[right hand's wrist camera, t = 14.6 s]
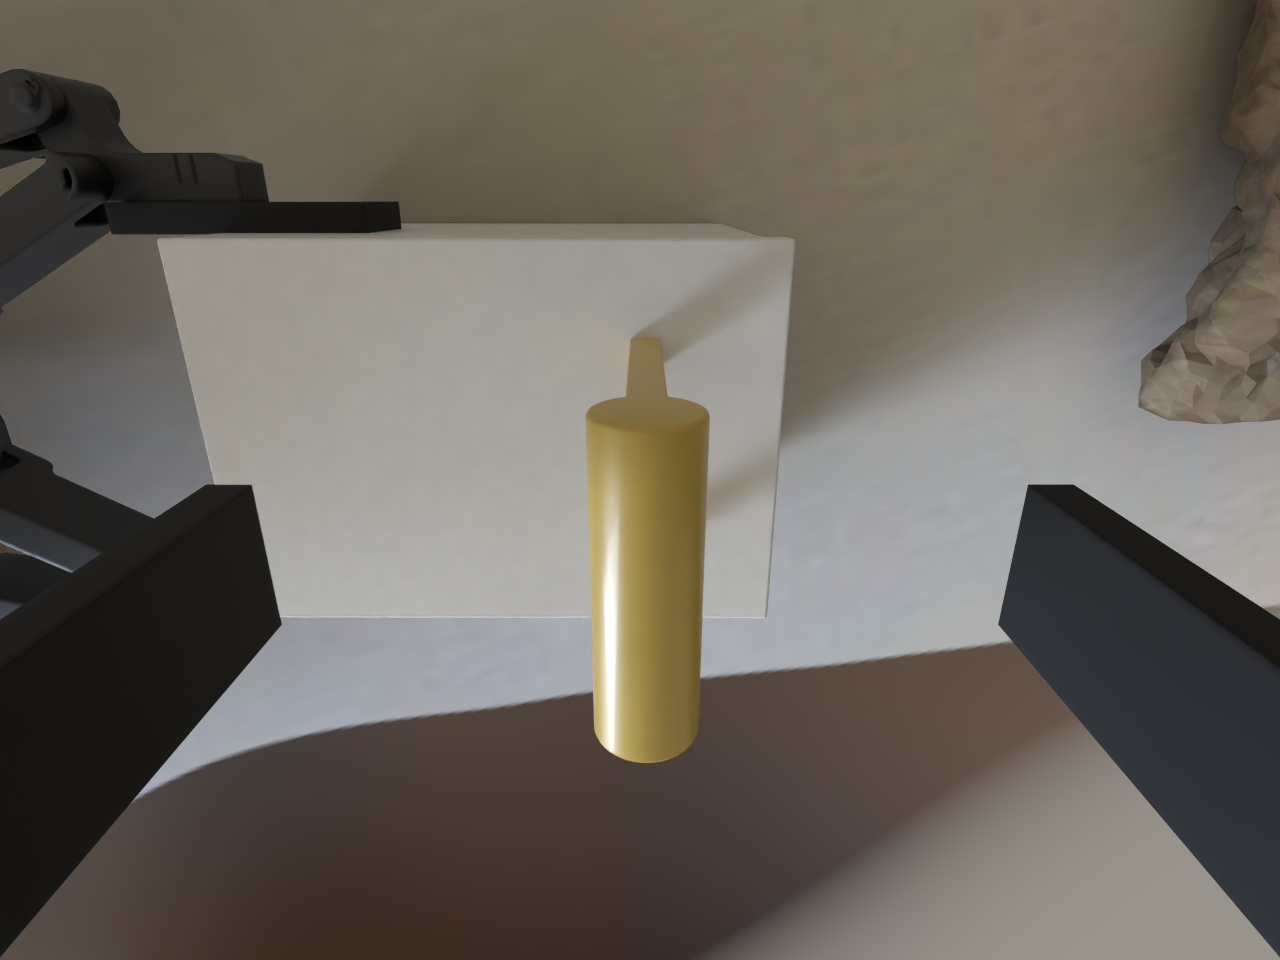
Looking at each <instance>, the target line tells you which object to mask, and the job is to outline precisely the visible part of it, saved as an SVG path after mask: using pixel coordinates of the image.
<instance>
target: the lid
mask: <svg viewBox="0 0 1280 960" xmlns="http://www.w3.org/2000/svg"><path fill="white" fill-rule="evenodd" d="M157 244H158V248H159V252H160V256H161V260H162V265H163V269H164V273H165V277H166V282H167V286H168V290H169V294H170V299H171V303H172V307H173V311H174V315H175V320H176V324H177V328H178V332H179V337H180V341H181V345H182V349H183V353H184V358H185V362H186V366H187V370H188V375H189V379H190V383H191V387H192V392H193V396H194V400H195V404H196V408H197V413H198V417H199V421H200V425H201V430H202V434H203V438H204V442H205V447H206V451H207V455H208V459H209V463H210V468H211V472H212V476H213V480H214V485H252V488H253V493H254V497H255V502H256V507H257V511H258V516H259V521H260V525H261V530H262V535H263V540H264V544H265V549H266V554H267V558H268V563H269V568H270V572H271V577H272V582H273V586H274V591H275V596H276V600H277V605H278V610H279V614H280V617H304V618H591V631H592V666H593V699H594V729H595V733H596V735H597V737H598V739H599V741H600V742H601V744H602V745H603V746H604V747H605V748H606V749H607V750H608V751H609V752H611V753H612V754H614V755H616V756H618V757H620V758H622V759H625V760H629V761H633V762H640V763H653V762H660V761H664V760H668V759H671V758H673V757H675V756H677V755H679V754H681V753H682V752H684V751H685V750H686V749H687V748H688V747H689V746H690V745H691V744H692V742H693V740H694V739H695V737H696V735H697V731H698V719H699V692H700V666H701V640H702V618H765V617H766V616H767V608H768V595H769V582H770V569H771V556H772V543H773V530H774V516H775V503H776V490H777V477H778V464H779V451H780V438H781V425H782V412H783V399H784V386H785V373H786V359H787V346H788V333H789V320H790V307H791V294H792V281H793V268H794V255H795V239H792V238H789V237H169V238H160V239H158V240H157Z"/></svg>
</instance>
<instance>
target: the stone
mask: <svg viewBox="0 0 1280 960" xmlns="http://www.w3.org/2000/svg"><path fill="white" fill-rule="evenodd" d="M1220 137H1221V140H1222V143H1223V144H1225V145H1227V146H1229V147H1231V148H1233V149H1234V150H1236V151H1238V152H1240V153H1242V154H1244V156H1245V158H1246V160H1245V162H1244V164H1243V166H1242V168H1241V170H1240V172H1239V174H1238V176H1237V178H1236V180H1235V191H1234V195H1235V199H1236V202H1237V206H1236V207H1234V208H1233V209H1232V210H1231V211H1230V213H1229V214H1228V216H1227V217H1226V219H1225V220H1224V222H1223V223H1222V225H1221V226H1220V228H1219V229H1218V231H1217V232H1216V234H1215V235H1214V237H1213V239H1212V240H1211V243H1210V248H1209V253H1208V255H1209V260H1210V264H1209V265H1208V266H1207V267H1206V268H1205V269H1204V270H1203V271H1202V272H1201V273H1200V274H1199V275H1198V277H1197V279H1196V281H1195V283H1194V284H1193V286H1192V288H1191V289H1190V291H1189V293H1188V294H1187V296H1186V297H1185V299H1186V301H1187V316H1188V317H1187V321H1186V323H1185V324H1184V325H1182V326H1181V327H1180V328H1179V329H1177V330H1176V331H1175V332H1174V333H1173V334H1172V335H1171V336H1170V337H1168V338H1167V339H1166V340H1165V341H1164V342H1163V343H1162V344H1161V345H1159V346H1158V347H1156V348H1155V349H1153V350H1152V351H1151V352H1150V353H1149V354H1148V355H1147V356H1146V357H1145V358H1144V359H1142V362H1141V388H1140V392H1139V402H1138V407H1140V408H1142V409H1144V410H1147V411H1149V412H1151V413H1153V414H1156V415H1158V416H1160V417H1162V418H1164V419H1167V420H1176V421H1190V422H1197V423H1203V424H1226V423H1234V422H1261V421H1269V420H1277V419H1280V0H1257V2H1256V8H1255V14H1254V20H1253V22H1252V25H1251V27H1250V30H1249V32H1248V35H1247V37H1246V40H1245V42H1244V43H1243V45H1242V46H1241V48H1240V50H1239V51H1238V73H1237V77H1236V81H1235V86H1234V90H1233V94H1232V98H1231V102H1230V104H1229V106H1228V107H1227V109H1226V111H1225V113H1224V116H1223V120H1222V126H1221V133H1220Z"/></svg>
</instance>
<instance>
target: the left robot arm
mask: <svg viewBox="0 0 1280 960" xmlns="http://www.w3.org/2000/svg"><path fill="white" fill-rule="evenodd" d="M119 121H120V110H119V107H118V104H117V102H116V100H115V99H114V97H113V96H112V94H111V93H110V92H108V91H107V90H106V89H105V88H103V87H101V86H98V85H95V84H91V83H86V82H81V81H77V80H72V79H67V78H62V77H57V76H53V75H48V74H43V73H38V72H33V71H29V70H24V69H15V70H10V71H7V72H4V73H1V74H0V169H2V168H5V167H8V166H11V165H14V164H17V163H20V162H23V161H26V160H29V159H32V158H43V159H47V160H46V163H45V164H44V165H42V166H41V167H40V168H39V169H37V170H36V171H35V172H33V173H32V174H31V175H29V176H28V177H27V178H25V179H24V180H22V181H21V182H20V183H18V184H17V185H16V186H14V187H13V188H12V189H10V190H9V191H8V192H6V193H5V194H4V195H2V196H1V197H0V315H1V314H2V313H3V310H2V309H1V307H2V306H4V305H5V304H7V303H8V302H9V301H11V300H12V299H14V298H15V297H17V296H18V295H19V294H21V293H22V292H24V291H25V290H27V289H28V288H29V287H31V286H32V285H34V284H35V283H37V282H38V281H39V280H41V279H42V278H44V277H45V276H47V275H48V274H49V273H51V272H52V271H54V270H55V269H57V268H58V267H59V266H61V265H62V264H64V263H65V262H67V261H68V260H69V259H71V258H72V257H74V256H75V255H77V254H78V253H79V252H81V251H82V250H84V249H85V248H87V247H88V246H89V245H91V244H92V243H94V242H95V241H97V240H98V239H99V238H101V237H102V236H104V235H105V234H107V233H108V232H109V231H111V233H112V234H216V233H373V232H381V231H389V230H397V229H402V228H401V219H400V211H399V202H269V198H268V193H267V187H266V182H265V176H264V171H263V165H262V164H261V163H258V162H256V161H253V160H251V159H248V158H246V157H244V156H237V155H228V154H218V153H142V152H141V151H139V150H138V149H136V148H135V147H134V146H133V145H132V144H131V143H130V142H129V141H128V140H127V138H126V137H125V136H124V134H123V132H122V131H121V129H120V127H119V125H118V123H119ZM152 520H153V518H151V517H149V516H147V515H144V514H142V513H140V512H138V511H135V510H133V509H131V508H129V507H126V506H124V505H122V504H120V503H118V502H115V501H113V500H111V499H109V498H106V497H104V496H102V495H100V494H97V493H95V492H93V491H91V490H88V489H86V488H84V487H82V486H79V485H77V484H75V483H73V482H71V481H68V480H66V479H64V478H62V477H59V476H57V475H56V474H54V473H53V465H52V464H51V463H50V462H49V461H47V460H45V459H43V458H41V457H38V456H36V455H34V454H32V453H30V452H27V451H25V450H23V449H21V448H18V447H16V446H14V445H12V443H11V440H10V437H9V434H8V431H7V428H6V425H5V422H4V420H3V418H2V417H1V415H0V543H2V544H5V545H7V546H9V547H12V548H14V549H16V550H19V551H21V552H23V553H26V554H28V555H30V556H26V555H21V554H11V553H0V619H2V618H3V617H5V616H6V615H8V614H9V613H11V612H13V611H14V610H16V609H17V608H19V607H20V606H22V605H23V604H25V603H26V602H28V601H29V600H31V599H32V598H34V597H35V596H37V595H39V594H40V593H42V592H43V591H45V590H46V589H48V588H49V587H51V586H52V585H54V584H55V583H57V582H58V581H60V580H61V579H63V578H65V577H66V576H68V575H69V574H71V573H72V572H74V571H75V570H77V569H78V568H80V567H81V566H83V565H84V564H86V563H87V562H89V561H91V560H92V559H94V558H95V557H97V556H98V555H100V554H101V553H103V552H104V551H106V550H107V549H109V548H110V547H112V546H113V545H115V544H117V543H118V542H120V541H121V540H123V539H124V538H126V537H127V536H129V535H130V534H132V533H133V532H135V531H136V530H138V529H139V528H141V527H143V526H144V525H146V524H147V523H149V522H150V521H152ZM32 556H33V557H32Z"/></svg>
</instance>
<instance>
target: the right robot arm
mask: <svg viewBox="0 0 1280 960" xmlns="http://www.w3.org/2000/svg"><path fill="white" fill-rule="evenodd" d="M281 625H282V624H281V619H280V614H279V610H278V605H277V600H276V596H275V591H274V586H273V582H272V577H271V572H270V568H269V563H268V558H267V554H266V549H265V544H264V540H263V535H262V530H261V525H260V521H259V516H258V511H257V507H256V502H255V497H254V493H253V488H252V485H205V486H204V487H202V488H201V489H199V490H198V491H196V492H195V493H193V494H191V495H190V496H188V497H187V498H185V499H184V500H182V501H181V502H179V503H178V504H176V505H175V506H173V507H172V508H170V509H169V510H167V511H165V512H164V513H162V514H161V515H159V516H158V517H156V518H155V519H153V520H152V521H150V522H149V523H147V524H146V525H144V526H143V527H141V528H139V529H138V530H136V531H135V532H133V533H132V534H130V535H129V536H127V537H126V538H124V539H123V540H121V541H120V542H118V543H117V544H115V545H113V546H112V547H110V548H109V549H107V550H106V551H104V552H103V553H101V554H100V555H98V556H97V557H95V558H94V559H92V560H91V561H89V562H87V563H86V564H84V565H83V566H81V567H80V568H78V569H77V570H75V571H74V572H72V573H71V574H69V575H68V576H66V577H65V578H63V579H61V580H60V581H58V582H57V583H55V584H54V585H52V586H51V587H49V588H48V589H46V590H45V591H43V592H42V593H40V594H39V595H37V596H35V597H34V598H32V599H31V600H29V601H28V602H26V603H25V604H23V605H22V606H20V607H19V608H17V609H16V610H14V611H13V612H11V613H9V614H8V615H6V616H5V617H3V618H2V619H0V957H1V955H2V954H3V953H4V952H5V951H6V950H7V948H8V947H9V946H10V945H11V944H12V942H13V941H14V940H15V939H16V938H17V937H18V935H19V934H20V933H21V932H22V931H23V929H24V928H25V927H26V926H27V925H28V924H29V922H30V921H31V920H32V919H33V918H34V917H35V915H36V914H37V913H38V912H39V911H40V909H41V908H42V907H43V906H44V905H45V903H46V902H47V901H48V900H49V899H50V898H51V896H52V895H53V894H54V893H55V892H56V890H57V889H58V888H59V887H60V886H61V885H62V883H63V882H64V881H65V880H66V879H67V878H68V876H69V875H70V874H71V873H72V871H73V870H74V869H75V868H76V867H77V866H78V865H79V863H80V862H81V861H82V860H83V859H84V857H85V856H86V855H87V854H88V853H89V852H90V850H91V849H92V848H93V847H94V846H95V844H96V843H97V842H98V841H99V840H100V839H101V837H102V836H103V835H104V834H105V833H106V831H107V830H108V829H109V828H110V827H111V825H112V824H113V823H114V822H115V821H116V820H117V818H118V817H119V816H120V815H121V814H122V813H123V811H124V810H125V809H126V808H127V807H128V805H129V804H130V803H131V802H132V801H133V800H134V798H135V797H136V796H137V795H138V794H139V792H140V791H141V790H142V789H143V788H144V787H145V785H146V784H147V783H148V782H149V781H150V779H151V778H152V777H153V776H154V775H155V774H156V772H157V771H158V770H159V769H160V768H161V766H162V765H163V764H164V763H165V762H166V761H167V759H168V758H169V757H170V756H171V755H172V753H173V752H174V751H175V750H176V749H177V748H178V746H179V745H180V744H181V743H182V742H183V740H184V739H185V738H186V737H187V736H188V735H189V733H190V732H191V731H192V730H193V729H194V727H195V726H196V725H197V724H198V723H199V722H200V720H201V719H202V718H203V717H204V716H205V715H206V713H207V712H208V711H209V710H210V709H211V707H212V706H213V705H214V704H215V703H216V702H217V700H218V699H219V698H220V697H221V696H222V694H223V693H224V692H225V691H226V690H227V689H228V687H229V686H230V685H231V684H232V683H233V681H234V680H235V679H236V678H237V677H238V676H239V674H240V673H241V672H242V671H243V670H244V668H245V667H246V666H247V665H248V664H249V663H250V661H251V660H252V659H253V658H254V657H255V655H256V654H257V653H258V652H259V651H260V650H261V648H262V647H263V646H264V645H265V644H266V642H267V641H268V640H269V639H270V638H271V637H272V635H273V634H274V633H275V632H276V631H277V629H278V628H279V627H280V626H281ZM998 625H999V626H1000V627H1001V628H1002V629H1003V631H1004V632H1005V633H1006V634H1007V635H1008V637H1009V638H1010V639H1011V640H1012V641H1013V642H1014V644H1015V645H1016V646H1017V647H1018V648H1019V650H1020V651H1021V652H1022V653H1023V654H1024V655H1025V657H1026V658H1027V659H1028V660H1029V661H1030V662H1031V664H1032V665H1033V666H1034V667H1035V668H1036V670H1037V671H1038V672H1039V673H1040V674H1041V675H1042V677H1043V678H1044V679H1045V680H1046V681H1047V683H1048V684H1049V685H1050V686H1051V687H1052V689H1053V690H1054V691H1055V692H1056V693H1057V694H1058V696H1059V697H1060V698H1061V699H1062V700H1063V701H1064V703H1065V704H1066V705H1067V706H1068V707H1069V709H1070V710H1071V711H1072V712H1073V713H1074V715H1075V716H1076V717H1077V718H1078V719H1079V720H1080V722H1081V723H1082V724H1083V725H1084V726H1085V727H1086V729H1087V730H1088V731H1089V732H1090V733H1091V734H1092V736H1093V737H1094V738H1095V739H1096V740H1097V742H1098V743H1099V744H1100V745H1101V746H1102V748H1103V749H1104V750H1105V751H1106V752H1107V753H1108V755H1109V756H1110V757H1111V758H1112V759H1113V760H1114V762H1115V763H1116V764H1117V765H1118V766H1119V768H1120V769H1121V770H1122V771H1123V772H1124V774H1125V775H1126V776H1127V777H1128V778H1129V779H1130V781H1131V782H1132V783H1133V784H1134V785H1135V787H1136V788H1137V789H1138V790H1139V791H1140V792H1141V794H1142V795H1143V796H1144V797H1145V798H1146V800H1147V801H1148V802H1149V803H1150V804H1151V805H1152V807H1153V808H1154V809H1155V810H1156V811H1157V813H1158V814H1159V815H1160V816H1161V817H1162V818H1163V820H1164V821H1165V822H1166V823H1167V824H1168V826H1169V827H1170V828H1171V829H1172V830H1173V831H1174V833H1175V834H1176V835H1177V836H1178V837H1179V839H1180V840H1181V841H1182V842H1183V843H1184V844H1185V846H1186V847H1187V848H1188V849H1189V850H1190V851H1191V853H1192V854H1193V855H1194V856H1195V857H1196V859H1197V860H1198V861H1199V862H1200V863H1201V864H1202V866H1203V867H1204V868H1205V869H1206V870H1207V872H1208V873H1209V874H1210V875H1211V876H1212V878H1213V879H1214V880H1215V881H1216V882H1217V883H1218V885H1219V886H1220V887H1221V888H1222V889H1223V891H1224V892H1225V893H1226V894H1227V895H1228V896H1229V898H1230V899H1231V900H1232V901H1233V902H1234V903H1235V905H1236V906H1237V907H1238V908H1239V909H1240V911H1241V912H1242V913H1243V914H1244V915H1245V916H1246V918H1247V919H1248V920H1249V921H1250V922H1251V924H1252V925H1253V926H1254V927H1255V928H1256V929H1257V931H1258V932H1259V933H1260V934H1261V935H1262V937H1263V938H1264V939H1265V940H1266V941H1267V942H1268V944H1269V945H1270V946H1271V947H1272V948H1273V950H1274V951H1275V952H1276V953H1277V954H1278V955H1279V957H1280V619H1278V618H1277V617H1275V616H1274V615H1272V614H1270V613H1269V612H1267V611H1266V610H1264V609H1263V608H1261V607H1260V606H1258V605H1257V604H1255V603H1254V602H1252V601H1251V600H1249V599H1248V598H1246V597H1245V596H1243V595H1241V594H1240V593H1238V592H1237V591H1235V590H1234V589H1232V588H1231V587H1229V586H1228V585H1226V584H1225V583H1223V582H1222V581H1220V580H1219V579H1217V578H1215V577H1214V576H1212V575H1211V574H1209V573H1208V572H1206V571H1205V570H1203V569H1202V568H1200V567H1199V566H1197V565H1196V564H1194V563H1193V562H1191V561H1189V560H1188V559H1186V558H1185V557H1183V556H1182V555H1180V554H1179V553H1177V552H1176V551H1174V550H1173V549H1171V548H1170V547H1168V546H1167V545H1165V544H1163V543H1162V542H1160V541H1159V540H1157V539H1156V538H1154V537H1153V536H1151V535H1150V534H1148V533H1147V532H1145V531H1144V530H1142V529H1141V528H1139V527H1137V526H1136V525H1134V524H1133V523H1131V522H1130V521H1128V520H1127V519H1125V518H1124V517H1122V516H1121V515H1119V514H1118V513H1116V512H1115V511H1113V510H1111V509H1110V508H1108V507H1107V506H1105V505H1104V504H1102V503H1101V502H1099V501H1098V500H1096V499H1095V498H1093V497H1092V496H1090V495H1089V494H1087V493H1085V492H1084V491H1082V490H1081V489H1079V488H1078V487H1076V486H1075V485H1028V488H1027V493H1026V497H1025V502H1024V507H1023V511H1022V516H1021V521H1020V525H1019V530H1018V535H1017V540H1016V544H1015V549H1014V554H1013V558H1012V563H1011V568H1010V572H1009V577H1008V582H1007V586H1006V591H1005V596H1004V600H1003V605H1002V610H1001V614H1000V619H999V624H998Z"/></svg>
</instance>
